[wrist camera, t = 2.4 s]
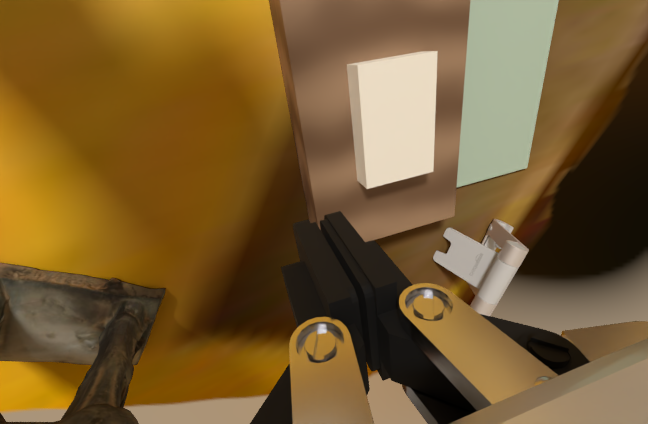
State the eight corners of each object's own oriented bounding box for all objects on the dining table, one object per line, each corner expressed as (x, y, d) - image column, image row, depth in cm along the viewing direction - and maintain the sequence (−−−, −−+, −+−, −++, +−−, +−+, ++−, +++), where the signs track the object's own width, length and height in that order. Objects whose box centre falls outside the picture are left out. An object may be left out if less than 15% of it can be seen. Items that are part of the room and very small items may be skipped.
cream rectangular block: (346, 64, 22) (357, 65, 20) (421, 51, 23) (437, 51, 22) (357, 180, 26) (366, 189, 25) (420, 164, 28) (433, 171, 26)
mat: (444, -33, 25) (447, -34, 25) (563, -47, 27) (567, -48, 27) (435, 191, 35) (437, 192, 34) (524, 166, 37) (527, 168, 37)
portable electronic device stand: (471, 275, 43) (522, 319, 36) (425, 272, 40) (471, 319, 33) (500, 219, 40) (562, 255, 33) (453, 211, 37) (510, 249, 30)
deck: (263, -30, 22) (271, -46, 18) (439, -48, 24) (475, -66, 21) (312, 234, 32) (323, 255, 29) (431, 200, 35) (454, 216, 31)
